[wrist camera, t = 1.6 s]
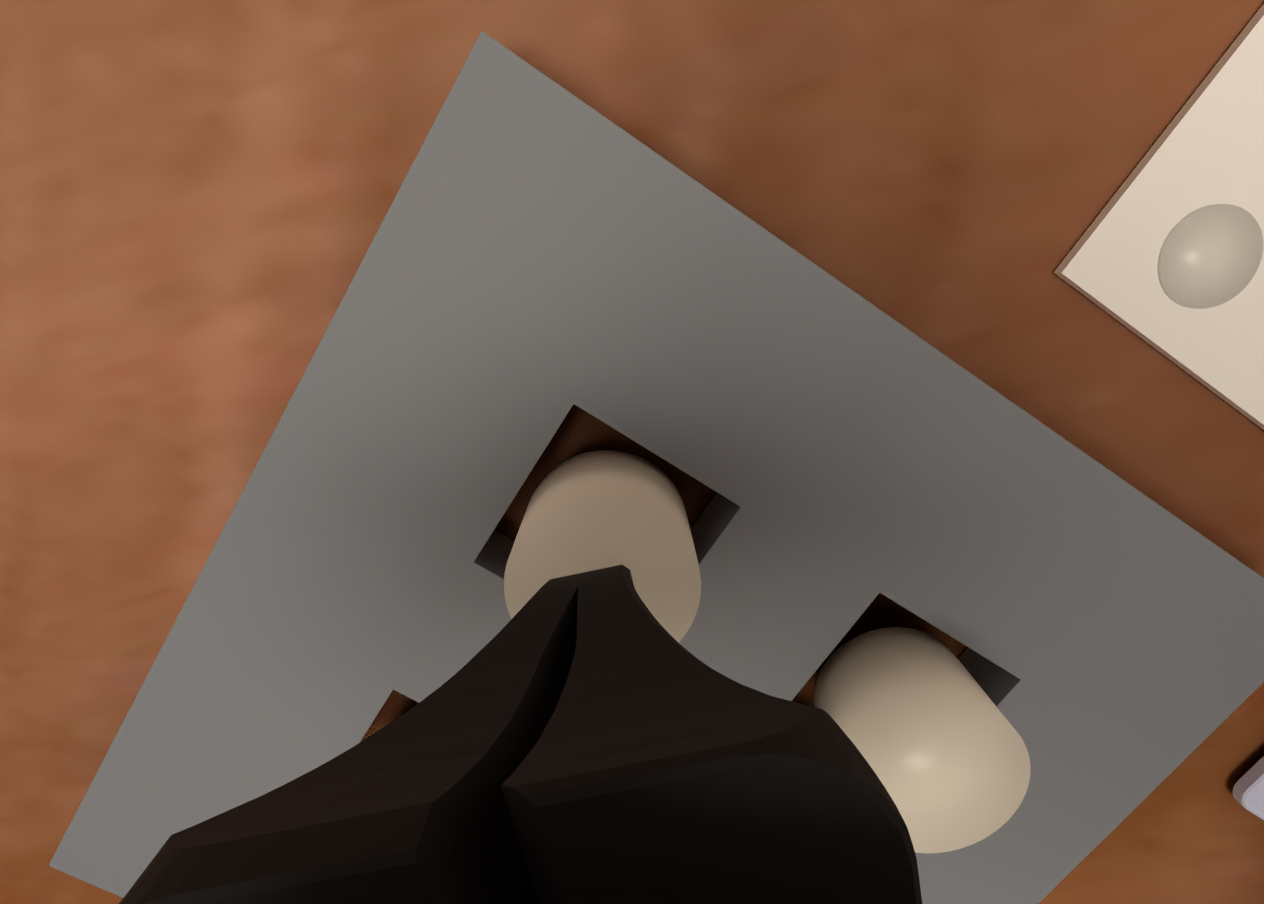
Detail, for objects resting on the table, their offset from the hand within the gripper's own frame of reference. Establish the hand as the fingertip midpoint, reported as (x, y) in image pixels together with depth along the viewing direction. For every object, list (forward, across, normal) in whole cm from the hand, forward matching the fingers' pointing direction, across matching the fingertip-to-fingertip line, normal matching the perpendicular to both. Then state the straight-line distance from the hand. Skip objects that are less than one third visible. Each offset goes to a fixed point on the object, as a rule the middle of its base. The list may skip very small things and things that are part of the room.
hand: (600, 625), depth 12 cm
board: (+6, 0, +6) cm, 8 cm away
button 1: (+4, -6, +6) cm, 9 cm away
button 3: (+4, 0, 0) cm, 4 cm away
